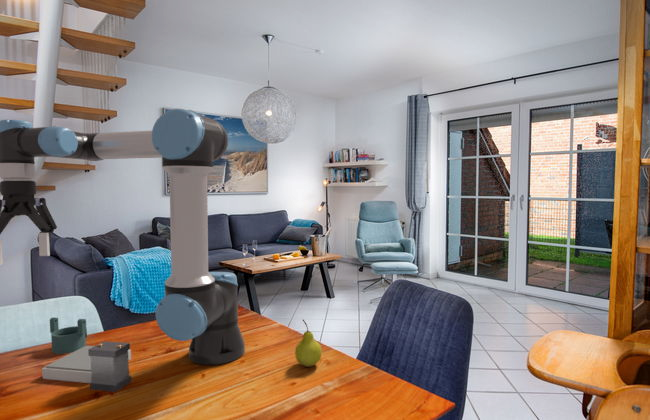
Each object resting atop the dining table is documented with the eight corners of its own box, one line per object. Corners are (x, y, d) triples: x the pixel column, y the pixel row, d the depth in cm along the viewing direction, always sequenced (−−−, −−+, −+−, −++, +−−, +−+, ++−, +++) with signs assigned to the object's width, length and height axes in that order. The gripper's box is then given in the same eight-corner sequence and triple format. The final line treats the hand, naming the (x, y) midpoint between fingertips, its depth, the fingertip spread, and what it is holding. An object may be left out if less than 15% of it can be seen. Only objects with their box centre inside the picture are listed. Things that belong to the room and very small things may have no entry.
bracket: (87, 350, 116) (86, 319, 115) (48, 356, 111) (47, 325, 111) (87, 340, 123) (86, 311, 123) (51, 346, 119) (50, 316, 118)
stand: (131, 358, 109) (130, 347, 109) (92, 383, 95) (91, 371, 95) (86, 355, 112) (86, 344, 112) (42, 378, 98) (42, 366, 98)
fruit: (327, 365, 104) (326, 320, 104) (309, 374, 99) (308, 327, 99) (308, 357, 109) (308, 314, 108) (290, 366, 104) (289, 320, 103)
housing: (131, 381, 96) (129, 341, 96) (116, 391, 91) (115, 350, 91) (105, 379, 98) (103, 340, 97) (90, 389, 93) (88, 348, 92)
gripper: (47, 181, 118) (50, 252, 119) (-46, 179, 93) (-40, 269, 95) (68, 180, 117) (72, 252, 118) (-20, 179, 92) (-14, 269, 93)
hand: (22, 260), depth 106 cm, fingers open, 13 cm apart
